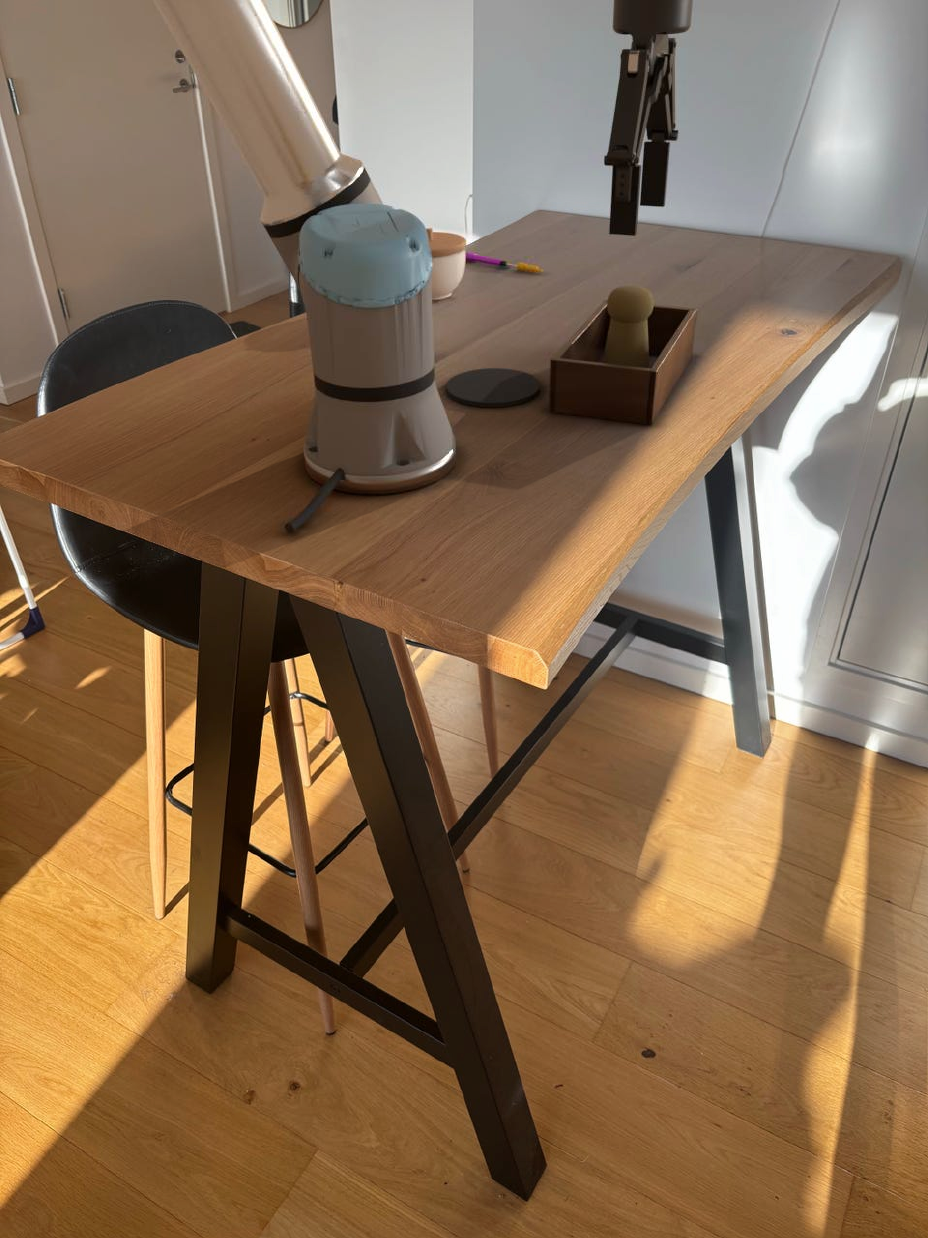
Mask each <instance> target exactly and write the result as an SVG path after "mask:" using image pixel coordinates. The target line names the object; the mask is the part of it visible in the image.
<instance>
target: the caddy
mask: <svg viewBox="0 0 928 1238" xmlns="http://www.w3.org/2000/svg"><path fill="white" fill-rule="evenodd" d="M607 300H608V299H607ZM607 300H606V299H604V300H603V301H602V303H601V304H600V305H599V306H598V307H596V309H595V310H594V311H593V313H592V314H591V315H590V316H589V317H588V318H587V319H586V320H585V321H584V322H583V323H582V324H581V326H579V328H578V329H577V330H576V331H575V332H574V333H573V334H572V335H571V337H570V338H569V339H568V340H567V341H566V342H565V343H564V344H563V346H561V348H559V350H558V351H557V352H556V353H555V354H554V355H553V356H552V358H551V359H550V365H549V367H550V368H549V396H548V397H549V398H548V401H549V402H548V412H549V413H557V414H564V415H572V416H578V417H586V418H587V417H588V418H595V419H601V420H608V421H609V420H611V421H618V422H624V423H625V422H626V423H631V424H632V423H633V424H641V425H647V426H652V425H653V424H654V422H655V421H656V419H657V417H658V415H659V413H660V412H661V410H662V409H663V407H664V404H665V403H666V401H667V400H668V398H669V396H670V394H671V393H672V391H673V389H674V387H675V386H676V384H677V382H678V381H679V380H680V377H681V376H682V374H683V372H684V370H685V369H686V367H687V365H688V364H689V362H690V360H691V359H692V356H693V349H694V340H695V332H696V331H695V330H696V323H697V322H696V321H697V313H698V309H697V308H693V307H683V306H672V305H661V304H654V305H653V310H652V313H651V314H650V316H649V317H648V318H647V324H648V345H649V355H655V356H658V357H657V359H656V360H655V362H654V363H653V365H652V367H650V368H642V367H633V366H624V365H615V364H607V363H603V362H598V360H599V359H600V358H601V356H602V355H604V352H605V347H606V342H607V337H608V332H609V326H610V321H611V317H610V315H609V313H608V308H607Z"/></svg>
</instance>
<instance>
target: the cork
mask: <svg viewBox="0 0 928 1238" xmlns="http://www.w3.org/2000/svg"><path fill="white" fill-rule="evenodd" d="M653 305H655V300H654V297H653V294H652V292H651V290H649V289H647V288H646V287H644V286H638V285H622V286H618V287H616V288H614V289H612V290H611V291H610V293H609V295H608V297H607V308H608V313H609V315H610V317H611V321H610V326H609V332H608V337H607V342H606V347H605V351H604V352H603V358H602V363H607V364H615V365H624V366H633V367H642V368H651V367H650V354H649V345H648V324H647V318H648V317H649V316H650V314H651V313H652V310H653Z"/></svg>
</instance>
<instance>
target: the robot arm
mask: <svg viewBox="0 0 928 1238" xmlns="http://www.w3.org/2000/svg"><path fill="white" fill-rule="evenodd" d="M152 1H153V3H154V4H155V6H156V8H157V10H158V12H159V14H160V15H161V17H162V19H163V21H164V22H165V25H166V26H167V28H168V30H169V31H170V33H171V35H172V36H173V39H174V40H175V42H176V43H177V46H178V47H179V49H180V51H181V52H182V55H183V56H184V58H185V60H186V61H187V63H188V65H189V66H190V69H191V70H192V72H193V74H194V75H195V78H196V79H197V81H198V83H199V84H200V86H201V88H202V89H203V91H204V93H205V95H206V96H207V99H208V100H209V102H210V104H211V105H212V107H213V109H214V111H215V112H216V114H217V116H218V118H219V119H220V121H221V123H222V125H223V127H224V128H225V130H226V132H227V134H228V135H229V136H230V139H231V141H232V143H233V144H234V146H235V147H236V149H237V151H238V153H239V155H240V156H241V158H242V160H243V162H244V163H245V165H246V167H247V169H248V170H249V173H250V175H251V176H252V178H253V180H254V182H255V183H256V185H257V186H258V188H259V190H260V192H261V194H262V195H263V203H262V206H261V207H262V208H261V212H260V217H259V221H260V222H261V224H262V226H263V227H264V229H265V231H266V233H267V234H268V236H269V238H270V240H271V242H272V243H273V245H274V246H275V249H276V250H277V252H278V254H279V255H280V257H281V259H282V262H284V265H285V267H286V268H287V270H288V271H289V274H290V275H291V277H292V278H293V280H294V282H295V284H296V286H297V289H298V291H299V294H300V297H301V300H302V303H303V305H304V308H305V314H306V320H307V327H308V336H309V346H310V353H311V362H312V371H313V379H314V390H315V393H314V398H313V404H312V408H311V411H310V417H309V422H308V426H307V432H306V435H305V440H304V445H303V457H304V465H305V469H306V473H307V474H308V475H309V476H310V478H311V479H313V480H314V481H315V482H317V483H318V484H320V485H322V486H321V488H320V489H319V490H318V491H317V492H316V494H315V495H314V496H313V497H312V499H311V500H310V502H309V503H308V504H307V505H306V506H305V507H304V508H303V510H302V511H301V512H300V513H299V514H297V515H296V516H295V517H294V518H292V519H291V520H289V521H288V522H286V524H285V525H284V530H285V531H286V532H287V533H289V534H293V533H294V532H295V531H297V530H298V529H299V528H301V527H303V526H304V524H305V523H306V522H308V521H309V520H310V519H311V518H313V516H314V514H315V513H317V511H318V510H319V508H320V507H321V506H322V504H323V503H324V502H325V500H326V499H327V498H328V497H329V496H330V495H331V493H332V492H333V491H334V490H337V491H340V492H345V493H351V494H361V495H383V494H384V495H386V494H395V493H400V492H401V493H402V492H407V491H410V490H414V489H418V488H422V487H425V486H428V485H429V484H432V483H434V482H436V481H438V480H440V479H442V478H443V477H445V476H447V474H448V473H449V472H450V471H452V469H453V468H454V466H455V465H456V462H457V441H456V436H455V434H454V431H453V429H452V426H451V423H450V420H449V418H448V415H447V412H446V410H445V407H444V405H443V401H442V399H441V397H440V394H439V391H438V389H437V385H436V372H435V371H436V369H435V343H434V340H435V339H434V338H435V337H434V317H433V315H434V314H433V313H434V312H433V300H432V284H431V272H432V260H433V259H432V253H431V249H430V247H429V238H428V233H427V230H426V228H427V227H426V226H425V224H424V223H423V222H422V220H421V219H420V218H419V217H418V216H416V215H415V214H413V213H412V212H410V211H408V210H405V209H403V208H398V209H397V208H396V209H395V207H394V206H392V205H388V204H384V203H383V201H382V199H381V197H380V194H379V193H378V191H377V189H376V187H375V185H374V183H373V180H372V178H371V177H370V175H369V173H368V170H367V169H366V167H365V165H364V163H363V161H361V160H360V159H357V158H355V157H352V156H349V155H347V154H343V153H342V152H341V151H340V150H339V147H338V145H337V143H336V141H335V139H334V138H333V135H332V133H331V131H330V129H329V127H328V126H327V124H326V122H325V120H324V118H323V115H322V114H321V112H320V110H319V108H318V105H317V104H316V102H315V100H314V98H313V96H312V93H311V92H310V90H309V88H308V86H307V84H306V82H305V80H304V78H303V76H302V74H301V72H300V69H299V68H298V66H297V64H296V62H295V60H294V58H293V56H292V54H291V52H290V50H289V48H288V46H287V44H286V43H285V40H284V38H283V37H282V35H281V32H280V30H279V28H278V27H277V25H276V23H275V20H274V19H273V16H272V14H271V13H270V11H269V9H268V7H267V5H266V3H265V1H264V0H152ZM693 3H694V0H613V11H612V12H613V14H612V29H613V32H614V33H616V34H618V35H624V36H626V35H629V36H631V37H632V38H631V39H632V41H631V47H630V48H623V49H622V50H621V53H620V63H619V64H620V67H619V78H618V84H617V91H616V98H615V102H614V103H615V104H614V111H613V115H612V116H613V117H612V123H611V128H610V136H609V141H608V142H609V143H608V149H607V153H606V155H604V157H603V163H604V167H605V166H606V167H607V166H608V167H612V170H611V175H612V176H611V189H610V190H611V192H610V208H609V209H610V210H609V227H608V228H609V229H608V234H609V235H615V236H617V235H618V236H629V237H631V236H632V237H635V236H637V234H638V220H639V208H640V207H656V208H657V207H660V208H664V207H665V206H666V198H667V183H668V174H669V173H668V172H669V159H670V150H671V149H670V148H671V142H677V141H678V137H679V129H676V128H677V122H676V64H675V63H676V49H677V38H676V37H669V35H677V34H684V33H686V32H687V31H689V30H690V28H691V26H692V13H693ZM645 133H646V138H647V140H646V141H644V138H645ZM642 148H643V153H642V164H639V163H640V158H641V157H640V156H641V152H642Z"/></svg>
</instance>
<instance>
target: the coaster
mask: <svg viewBox="0 0 928 1238" xmlns="http://www.w3.org/2000/svg"><path fill="white" fill-rule="evenodd" d="M540 391H541V383H540V381H539V380H538V378H537V377H536V376H534V375H532V374H530V373H527V372H524V371H521V370H516V369H511V368H502V367H501V368H499V367H490V368H478V369H472V370H467V371H464V372H460V373H458V374H456V375H454V376H453V377H451V378H450V379H448V380H447V382H446V385H445V392H446V394H447V396H448V397H449V398H450V399H451V400H453V401H455V402H457V403H460V404H462V405H466V406H471V407H477V408H506V407H508V408H509V407H513V406H514V407H515V406H519V405H521V404H525V403H527V402H530V401H532V400H533V399H535V398H536V397H537V396H538V395H539V394H540Z"/></svg>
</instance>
